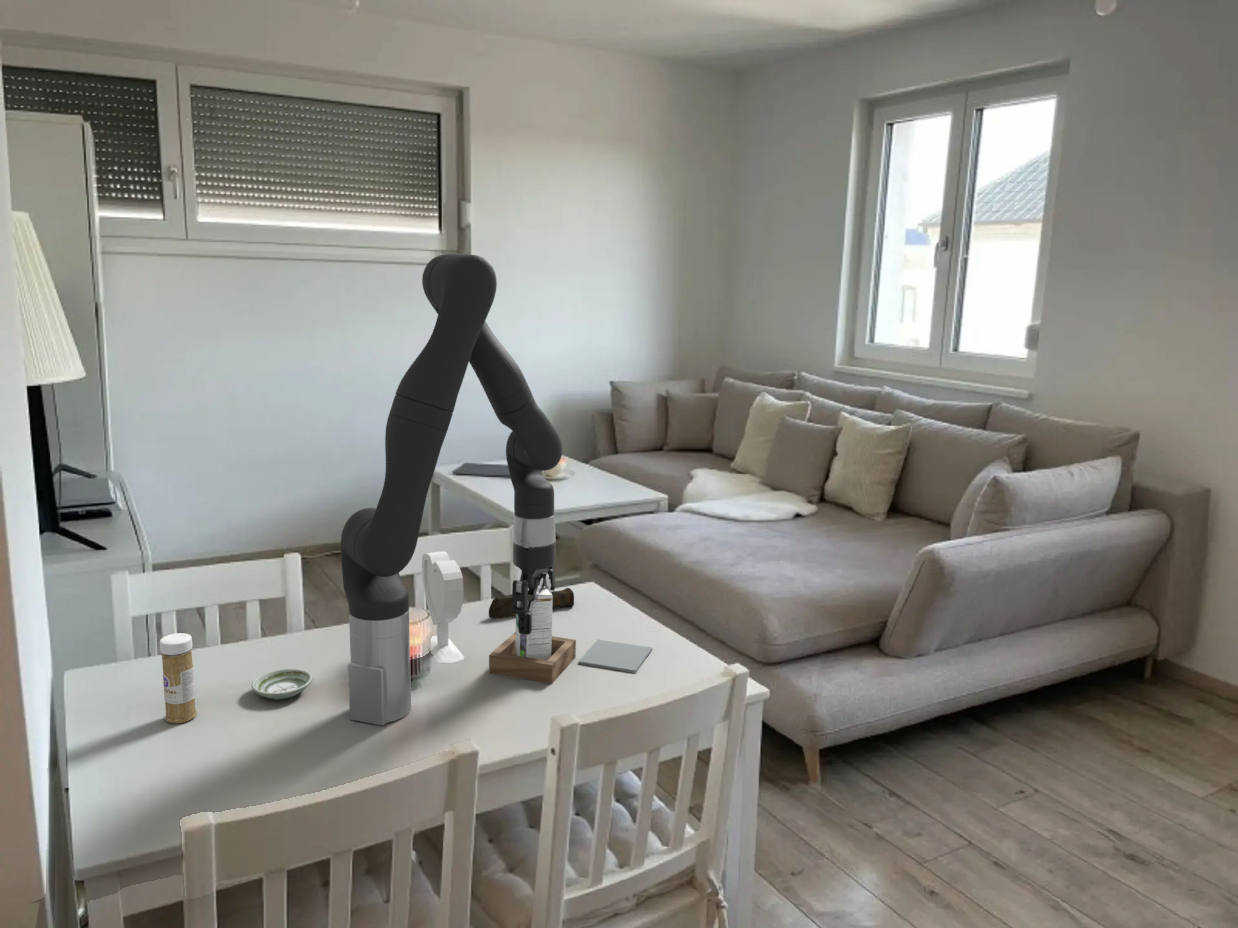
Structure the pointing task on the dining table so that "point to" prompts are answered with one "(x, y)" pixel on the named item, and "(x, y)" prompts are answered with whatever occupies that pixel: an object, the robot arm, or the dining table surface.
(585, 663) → the mat
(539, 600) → the white drink carton
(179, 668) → the sprinkles bottle
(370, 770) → the dining table surface
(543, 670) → the collar
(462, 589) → the heart sculpture
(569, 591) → the hand tool
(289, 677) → the saucer
